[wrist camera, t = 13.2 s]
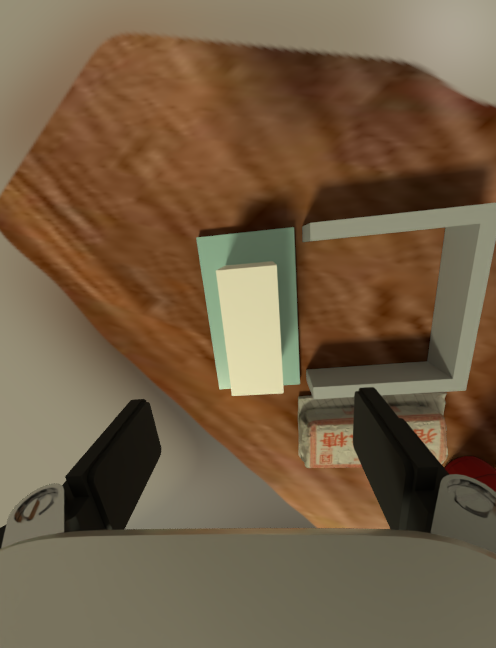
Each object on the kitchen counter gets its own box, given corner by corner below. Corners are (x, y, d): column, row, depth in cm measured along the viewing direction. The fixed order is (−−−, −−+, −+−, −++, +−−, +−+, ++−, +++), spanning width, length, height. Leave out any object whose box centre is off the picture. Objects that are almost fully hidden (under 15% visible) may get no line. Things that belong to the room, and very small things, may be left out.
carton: (272, 261, 25) (276, 265, 19) (278, 364, 29) (283, 393, 23) (225, 265, 25) (215, 270, 20) (237, 366, 29) (232, 395, 23)
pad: (292, 227, 25) (293, 227, 24) (298, 380, 30) (300, 384, 29) (198, 237, 26) (196, 237, 25) (220, 385, 31) (219, 389, 30)
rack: (463, 209, 24) (503, 201, 20) (438, 371, 29) (465, 390, 25) (302, 226, 25) (310, 222, 21) (306, 380, 30) (313, 399, 26)
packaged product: (303, 485, 30) (303, 417, 27) (297, 453, 34) (296, 392, 31) (456, 482, 29) (473, 412, 26) (428, 450, 33) (440, 387, 30)
